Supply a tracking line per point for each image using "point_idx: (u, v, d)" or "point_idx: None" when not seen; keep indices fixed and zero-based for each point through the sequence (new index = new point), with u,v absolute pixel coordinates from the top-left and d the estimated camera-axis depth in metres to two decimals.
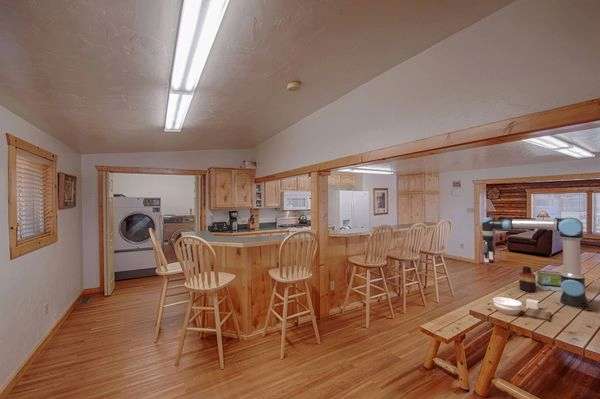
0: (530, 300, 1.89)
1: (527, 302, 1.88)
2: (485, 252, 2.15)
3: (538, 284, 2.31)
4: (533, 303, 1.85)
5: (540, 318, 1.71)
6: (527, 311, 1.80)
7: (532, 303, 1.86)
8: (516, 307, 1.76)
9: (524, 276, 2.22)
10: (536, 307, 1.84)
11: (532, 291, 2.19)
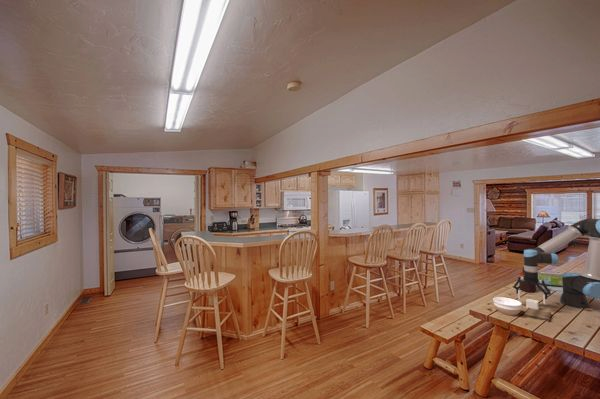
0: (530, 300, 1.89)
1: (527, 302, 1.88)
2: (513, 286, 1.95)
3: None
4: (533, 303, 1.85)
5: (540, 318, 1.71)
6: (527, 311, 1.80)
7: (532, 303, 1.86)
8: (516, 307, 1.76)
9: None
10: (536, 307, 1.84)
11: (532, 291, 2.19)
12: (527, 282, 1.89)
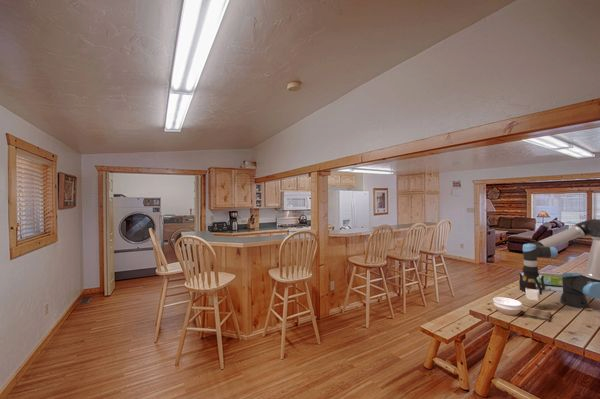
0: (530, 289, 1.89)
1: (527, 291, 1.88)
2: None
3: None
4: (533, 292, 1.85)
5: (540, 318, 1.71)
6: (527, 311, 1.80)
7: (532, 292, 1.86)
8: (516, 307, 1.76)
9: (524, 276, 2.22)
10: (536, 296, 1.84)
11: None
12: None
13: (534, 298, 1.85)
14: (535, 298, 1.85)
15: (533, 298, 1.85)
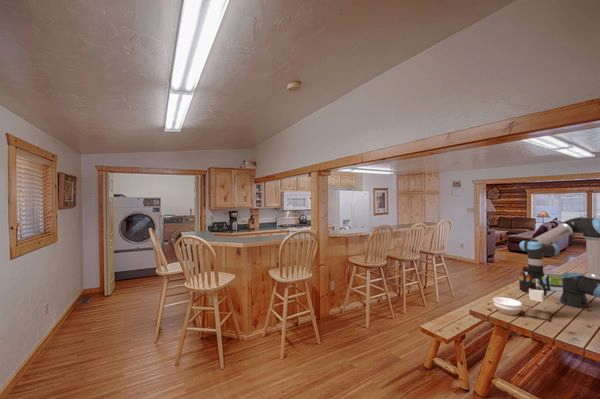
0: (534, 290, 1.77)
1: (531, 292, 1.76)
2: None
3: (538, 284, 2.31)
4: (537, 293, 1.74)
5: (540, 318, 1.71)
6: (527, 311, 1.80)
7: (536, 293, 1.74)
8: (516, 307, 1.76)
9: None
10: (541, 297, 1.73)
11: None
12: (533, 276, 1.77)
13: (538, 299, 1.74)
14: (539, 299, 1.73)
15: (537, 299, 1.74)
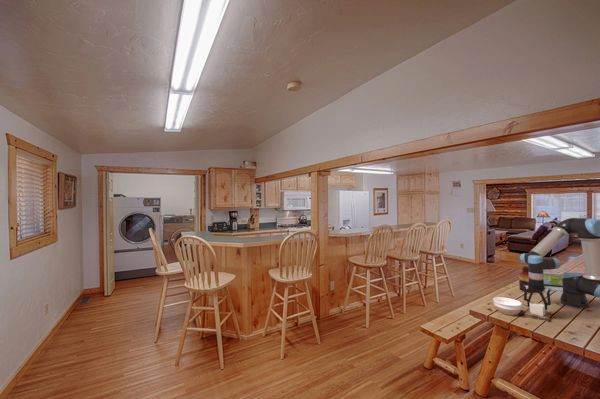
0: (535, 304, 1.77)
1: (532, 306, 1.76)
2: None
3: None
4: (538, 307, 1.74)
5: (540, 318, 1.71)
6: (527, 311, 1.80)
7: (537, 307, 1.74)
8: (516, 307, 1.76)
9: (524, 276, 2.22)
10: (541, 311, 1.72)
11: None
12: None
13: (539, 313, 1.73)
14: (540, 313, 1.73)
15: (538, 313, 1.74)
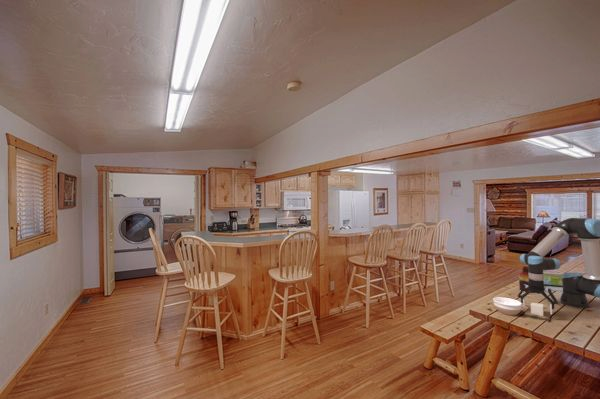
0: (535, 304, 1.77)
1: (532, 306, 1.76)
2: (518, 294, 1.84)
3: None
4: (538, 307, 1.74)
5: (540, 318, 1.71)
6: (527, 311, 1.80)
7: (537, 307, 1.74)
8: (516, 307, 1.76)
9: (524, 276, 2.22)
10: (541, 311, 1.72)
11: None
12: (532, 291, 1.77)
13: (539, 313, 1.73)
14: (540, 313, 1.73)
15: (538, 313, 1.74)
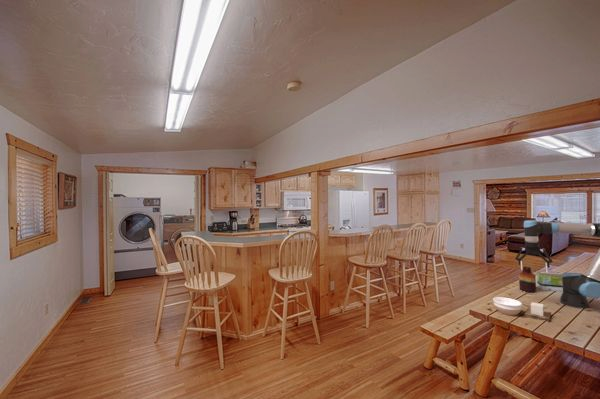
0: (535, 304, 1.77)
1: (532, 306, 1.76)
2: None
3: (538, 284, 2.31)
4: (538, 307, 1.74)
5: (540, 318, 1.71)
6: (527, 311, 1.80)
7: (537, 307, 1.74)
8: (516, 307, 1.76)
9: (524, 276, 2.22)
10: (541, 311, 1.72)
11: (532, 291, 2.19)
12: (529, 252, 1.91)
13: (539, 313, 1.73)
14: (540, 313, 1.73)
15: (538, 313, 1.74)
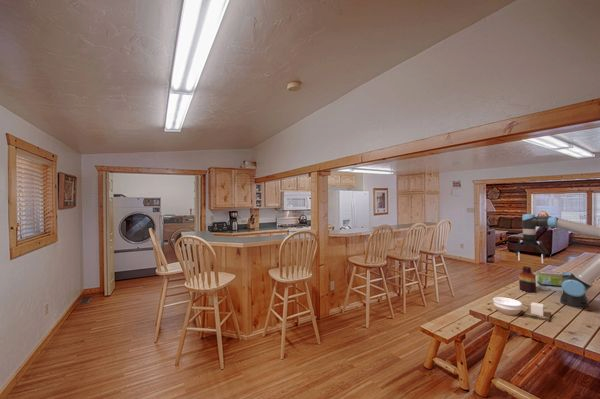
0: (535, 304, 1.77)
1: (532, 306, 1.76)
2: (513, 249, 2.08)
3: (538, 284, 2.31)
4: (538, 307, 1.74)
5: (540, 318, 1.71)
6: (527, 311, 1.80)
7: (537, 307, 1.74)
8: (516, 307, 1.76)
9: (524, 276, 2.22)
10: (541, 311, 1.72)
11: (532, 291, 2.19)
12: (526, 244, 2.02)
13: (539, 313, 1.73)
14: (540, 313, 1.73)
15: (538, 313, 1.74)
